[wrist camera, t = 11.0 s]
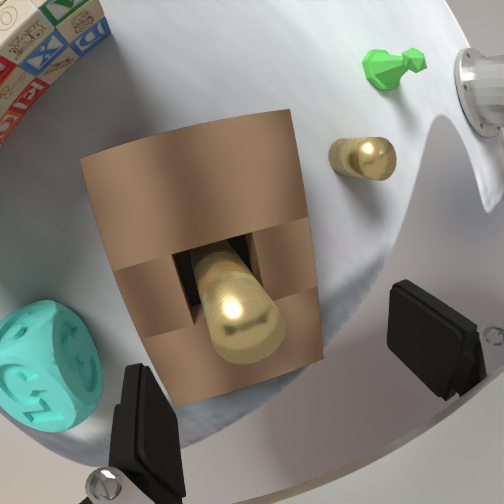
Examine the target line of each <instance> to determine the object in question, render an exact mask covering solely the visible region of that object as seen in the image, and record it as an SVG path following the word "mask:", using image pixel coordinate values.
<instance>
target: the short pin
mask: <svg viewBox="0 0 504 504" xmlns="http://www.w3.org/2000/svg"><path fill="white" fill-rule="evenodd" d="M329 162H330V165H331V167H332V168H333V170H334V171H335V172H337V173H339V174H341V175H347V176H354V177H361V178H367V179H373V180H380V181H382V180H386V179H388V178H389V177H390V176H391V175H392V174H393V172H394V170H395V167H396V153H395V150H394V147H393V146H392V144H391V143H390V142H389V141H388V140H387V139H385V138H382V137H368V138H345V139H338V140H336V141H335V142H334V143H333V144H332V145H331V147H330V150H329Z"/></svg>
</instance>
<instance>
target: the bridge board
mask: <svg viewBox="0 0 504 504" xmlns="http://www.w3.org/2000/svg"><path fill="white" fill-rule="evenodd" d="M80 163H81V167H82V172H83V176H84V180H85V184H86V188H87V192H88V195H89V199H90V203H91V206H92V210H93V213H94V217H95V220H96V223H97V227H98V230H99V233H100V236H101V239H102V242H103V245H104V248H105V251H106V254H107V257H108V260H109V263H110V266H111V268H112V271H113V274H114V277H115V279H116V282H117V284H118V287H119V290H120V292H121V295H122V297H123V300H124V302H125V305H126V307H127V309H128V312H129V314H130V316H131V319H132V321H133V323H134V326H135V328H136V330H137V332H138V335H139V337H140V339H141V341H142V343H143V345H144V348H145V350H146V352H147V354H148V356H149V358H150V360H151V362H152V364H153V366H154V368H155V370H156V372H157V374H158V376H159V378H160V380H161V382H162V384H163V385H164V387H165V389H166V391H167V393H168V395H169V396H170V398H171V400H172V402H173V404H174V405H175V407H176V406H181V405H185V404H189V403H193V402H196V401H200V400H204V399H208V398H211V397H215V396H218V395H222V394H225V393H229V392H232V391H235V390H238V389H242V388H245V387H248V386H251V385H254V384H257V383H260V382H263V381H266V380H269V379H272V378H275V377H277V376H280V375H283V374H286V373H288V372H291V371H294V370H296V369H299V368H302V367H304V366H307V365H309V364H312V363H314V362H317V361H319V360H321V359H323V358H324V357H323V343H322V331H321V320H320V309H319V299H318V290H317V281H316V272H315V264H314V255H313V247H312V240H311V232H310V225H309V218H308V211H307V204H306V198H305V192H304V185H303V179H302V173H301V167H300V161H299V156H298V150H297V144H296V139H295V134H294V128H293V123H292V118H291V113H290V109H286V110H278V111H271V112H263V113H257V114H250V115H244V116H238V117H233V118H227V119H222V120H217V121H212V122H207V123H202V124H197V125H193V126H189V127H184V128H180V129H176V130H172V131H168V132H164V133H160V134H156V135H153V136H149V137H146V138H142V139H139V140H135V141H132V142H128V143H125V144H122V145H119V146H116V147H113V148H109V149H106V150H103V151H101V152H98V153H95V154H92V155H89V156H86V157H84V158H81V159H80ZM243 234H244V235H245V239H246V244H247V249H248V253H249V258H250V263H251V268H252V272H253V276H254V277H255V278H256V280H257V281H258V282H259V284H260V285H261V286H262V288H263V289H264V290H265V292H266V293H267V294H268V295H269V297H270V298H271V299H272V301H273V302H274V303H275V305H276V306H277V307H278V309H279V310H280V311H281V313H282V314H283V316H284V319H285V323H286V331H285V336H284V338H283V341H282V343H281V344H280V346H279V347H278V348H277V349H276V350H275V351H274V352H273V353H272V354H271V355H270V356H268V357H267V358H265V359H263V360H261V361H258V362H255V363H251V364H235V363H231V362H229V361H226V360H225V359H223V358H222V357H221V356H219V354H218V353H217V352H216V350H215V349H214V346H213V343H212V340H211V336H210V333H209V329H208V325H207V322H206V318H205V314H204V311H203V307H202V304H199V305H195V306H192V307H190V304H189V301H188V298H187V295H186V291H185V288H184V285H183V282H182V279H181V276H180V272H179V269H178V266H177V263H176V259H175V256H174V253H178V252H182V251H185V250H189V249H192V248H196V247H199V246H203V245H206V244H210V243H214V242H217V241H221V240H224V239H228V238H232V237H235V236H239V235H243Z"/></svg>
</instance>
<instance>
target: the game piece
mask: <svg viewBox="0 0 504 504" xmlns="http://www.w3.org/2000/svg"><path fill="white" fill-rule="evenodd" d="M402 56H403V57H402ZM402 56H396V55H391V54H389V53H388V52H387V51H386V50H371V51H368V53H367V55H366V56H365V58H364V60H363V61H362V64H363V67H364V71H365V75H366V78H367V79H368V80H369V81H370V82H371V83H372V84H373V85H374V86H375V87H376V88H377V89H378V90H384V89H395V88H396V87H397V85H398V83H399V81H400V79H401V77H402V76H403V75H404V74H405V73H406V71H407V70H408V69H409V70H411V71H413V72H415V73H417V72H419V71H421V70H423V69H426V68H427V66H426V62H425V58H424V54H423V53H421V52H420V51H418V50H417V49H415V48H411V49H409V50H407V51H405V52H403V53H402Z"/></svg>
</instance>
